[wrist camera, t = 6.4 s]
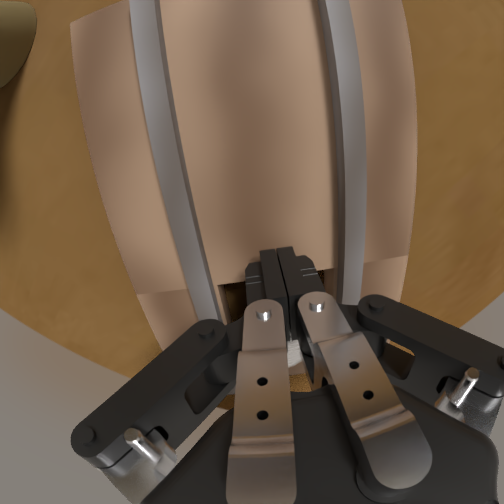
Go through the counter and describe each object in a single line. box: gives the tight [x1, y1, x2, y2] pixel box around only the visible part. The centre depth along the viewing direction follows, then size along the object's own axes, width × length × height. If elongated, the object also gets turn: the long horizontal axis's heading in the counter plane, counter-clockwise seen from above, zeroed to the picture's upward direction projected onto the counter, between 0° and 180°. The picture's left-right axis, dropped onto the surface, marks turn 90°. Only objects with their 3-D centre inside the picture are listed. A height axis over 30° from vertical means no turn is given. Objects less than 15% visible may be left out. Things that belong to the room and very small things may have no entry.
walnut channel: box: [70, 0, 417, 395], centre depth 14 cm, size 15×23×3 cm, turn 8°
